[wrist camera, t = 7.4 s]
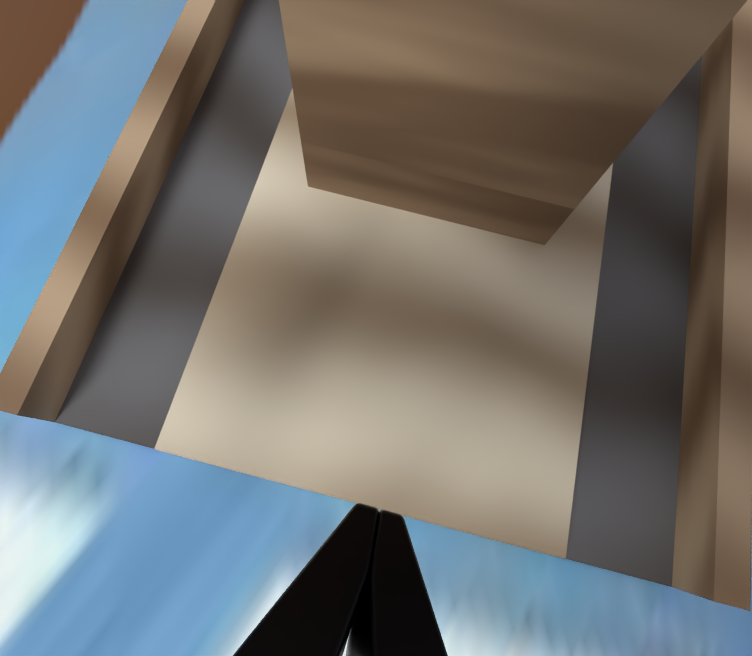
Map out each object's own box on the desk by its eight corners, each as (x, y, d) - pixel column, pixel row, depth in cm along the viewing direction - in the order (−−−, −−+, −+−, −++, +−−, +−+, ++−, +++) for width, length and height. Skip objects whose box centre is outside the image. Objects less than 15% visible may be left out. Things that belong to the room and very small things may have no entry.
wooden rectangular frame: (699, 594, 15) (768, 617, 12) (28, 414, 16) (-33, 403, 13) (723, 9, 22) (769, -49, 20) (268, -95, 23) (258, -164, 21)
